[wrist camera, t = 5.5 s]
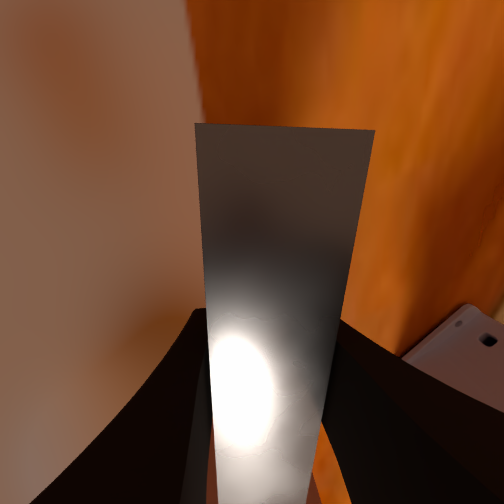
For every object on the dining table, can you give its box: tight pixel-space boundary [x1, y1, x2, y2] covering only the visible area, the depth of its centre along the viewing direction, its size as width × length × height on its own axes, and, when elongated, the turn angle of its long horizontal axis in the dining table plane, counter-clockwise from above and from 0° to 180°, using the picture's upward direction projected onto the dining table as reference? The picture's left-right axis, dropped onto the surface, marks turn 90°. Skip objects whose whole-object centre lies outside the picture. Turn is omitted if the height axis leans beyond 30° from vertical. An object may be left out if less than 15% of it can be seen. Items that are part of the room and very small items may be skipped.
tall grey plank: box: [195, 123, 375, 504], centre depth 8 cm, size 12×3×5 cm, turn 179°
